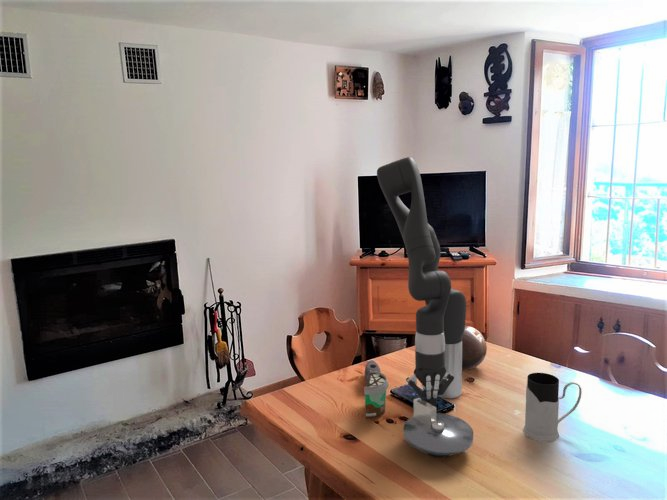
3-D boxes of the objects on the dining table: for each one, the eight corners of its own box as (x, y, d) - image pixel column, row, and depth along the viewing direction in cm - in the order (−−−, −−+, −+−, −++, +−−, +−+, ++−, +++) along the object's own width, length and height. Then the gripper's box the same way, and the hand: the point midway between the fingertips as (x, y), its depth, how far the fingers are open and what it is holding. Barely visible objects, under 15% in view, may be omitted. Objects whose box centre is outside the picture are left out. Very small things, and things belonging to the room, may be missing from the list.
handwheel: (488, 440, 119) (488, 414, 118) (437, 463, 110) (437, 436, 109) (438, 412, 133) (438, 389, 132) (389, 431, 124) (389, 407, 123)
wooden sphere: (482, 379, 161) (483, 335, 158) (437, 372, 167) (437, 330, 165) (489, 362, 174) (490, 322, 172) (447, 357, 181) (447, 318, 178)
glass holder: (518, 424, 133) (520, 371, 130) (571, 423, 132) (574, 370, 130) (530, 441, 124) (532, 386, 121) (587, 441, 123) (590, 385, 121)
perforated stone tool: (364, 373, 169) (363, 354, 168) (379, 373, 169) (379, 354, 168) (365, 392, 154) (365, 372, 153) (382, 392, 154) (382, 371, 153)
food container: (387, 422, 135) (386, 389, 134) (365, 421, 137) (364, 387, 135) (390, 402, 147) (390, 370, 146) (370, 400, 148) (369, 369, 147)
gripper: (447, 339, 130) (447, 400, 133) (400, 345, 128) (401, 406, 131) (460, 350, 123) (460, 413, 126) (410, 356, 121) (411, 420, 124)
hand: (430, 409), depth 128 cm, fingers closed
